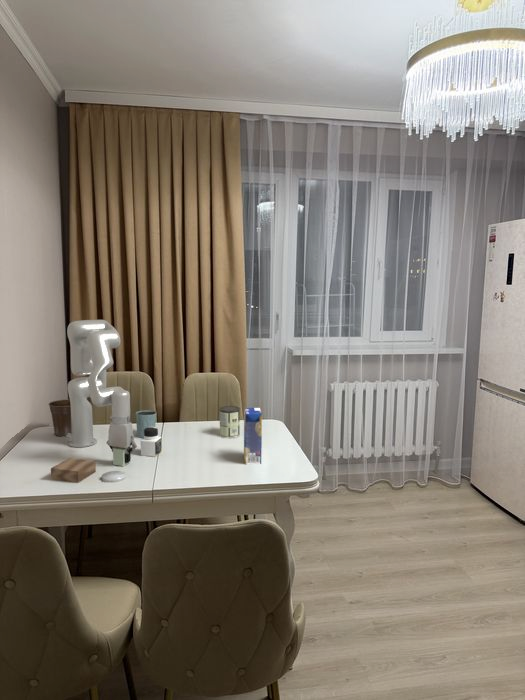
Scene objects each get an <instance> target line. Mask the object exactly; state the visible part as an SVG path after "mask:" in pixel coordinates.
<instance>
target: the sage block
mask: <svg viewBox="0 0 525 700" xmlns="http://www.w3.org/2000/svg"><path fill="white" fill-rule="evenodd" d="M112 454H113V455H112V458H113V459H112V460H113V465H114V466H120V467H124V466H126V465H128V464H130V463H131V461H130V462H128V463H125V454H126V452H125V448H120V447H115V448H113V452H112Z"/></svg>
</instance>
